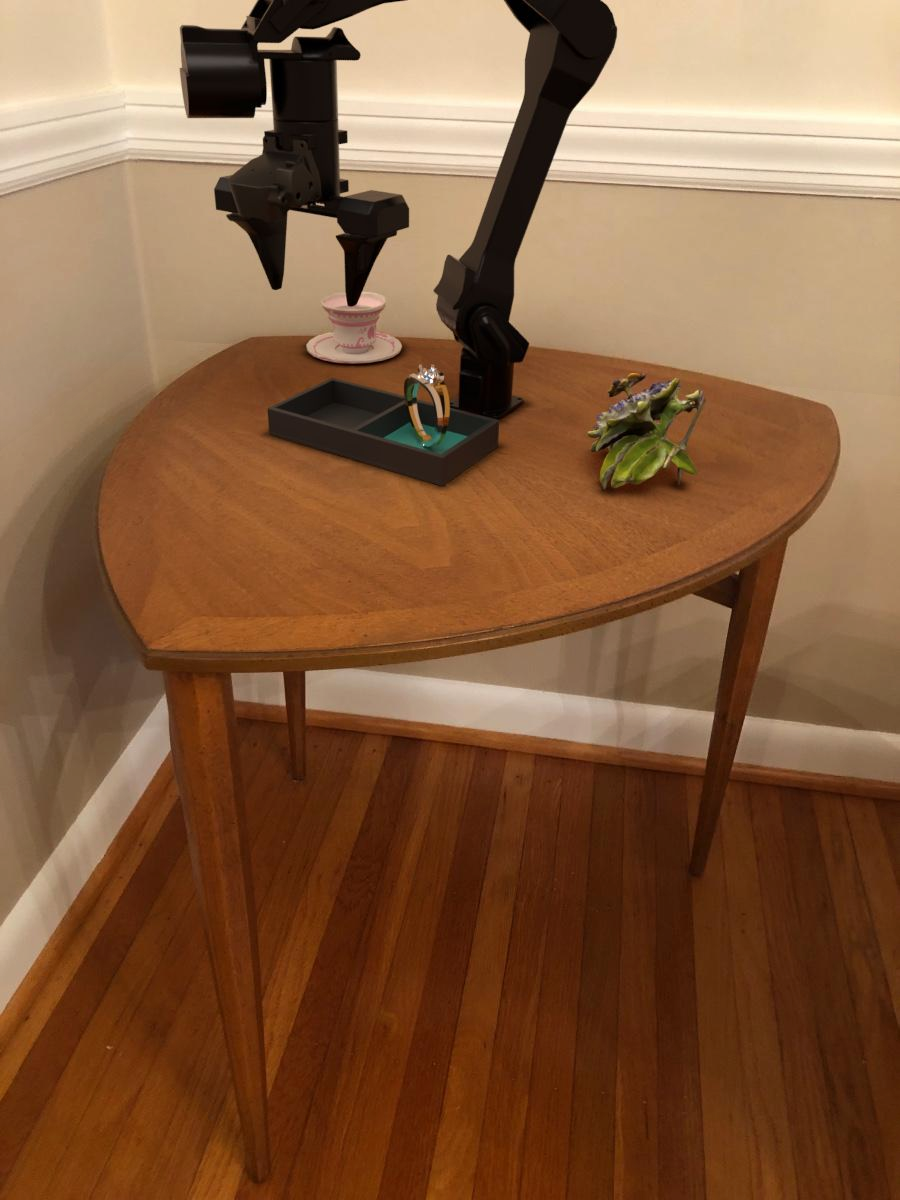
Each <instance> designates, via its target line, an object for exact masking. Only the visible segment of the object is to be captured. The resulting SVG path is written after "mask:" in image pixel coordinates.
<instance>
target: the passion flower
mask: <svg viewBox="0 0 900 1200" xmlns="http://www.w3.org/2000/svg"><path fill="white" fill-rule="evenodd" d="M646 377H647V373H646V372H642V373H637V372H632V373H629V374H628V375H627V377H626V378H624V377H621V378H615V379H614V380H613V381H612V386H611V387H610V388H609V389H608V390H607V393H608V397H609V398H614V397H616V396H618V395H620V394H621V393H622V392H625V393H626V395H627V398H623V399H620V400H619V401H618V402H617V403H615V404H608V406H609V408H608V410H607V411H601V412H600V414H598V415H597V416H596V417H595V419H596V424H595V425H593V426H590V427H589V428H590V429H592V428H593V429H592V430H589V431H588V432H587V436H588V437H589V438H592V439H596V440H595V441H594V442H593V443H592V444H591V447H590V448H589V450H590V452H591V453H598V452H600V451H604V450H605V449H607V448H608V453H607V454H606V456H605V458H604V459H603V462H602V465H601V468H600V469H599V482H600V484H601V488H602V490H604V491H605V490H606V489H607V485H608V482H609V481H610V487H611V488H613V489H617V488H619V487H621V486H625V485H627V484H628V483H630V484H633V485H641V483H644V482H646V481H648V480H649V479H651V478H652V477H654V476H655V475H656V474H657V472H658V471H659V470H661V468H662V469H663V470H664V471H667V470H669V468H670V464H671V462H672V463H673V464H674V465H675V466H676V467H677V472H676V476H677V478H676V479H677V480H676V481H677V482H676V484H677V486H680V482H681V478H682V473H683V472H685V473H688V474H690V475H693V476H696V475H697V468H696V466H695V463H694V462H693V461H692V459H691V457H690V456H689V454H688V453H687V448H688V442H689V438H690V437H691V434H692V432H693V430H694V427H695V424H696V423H697V420H698V418H699V416H700V414H701V413H702V411H703V410H704V406H705V404H706V401H707V399H706V397H705V395H704V392H703V389H696V390H695V391H694V392H693V393H690V394H686V395H685V398H686V399H687V400H686V399H679V397H678V395H679V391H681V389H682V385H680V381H681V380H680V378H678V377H674V379H673V380H672V379H668V380H667V381H666V382H665V383H664V381H658V382H655V383H652V385H651V386H650V388H648V389H647V388H644V389H643V390H642V391H641V392H639V393H637V392H634V394H633V393H632V391H631V388H632V387H634V386H636V385H637V384H639V383H641V382H642V381H643V380H645V378H646ZM694 409H696V413H695V415H694V417H693V418H692V420H691V423H690V425H689V427H688V428H687V432H686V433H685V436H684V437H683V439H682V440H681V441H679V442H678V443H675V442H674V441H671V440H669V439H668V436H667V435H668V432H669V431H668V430H669V428H670V427H671V425H672V424H673V423H674V421H675V419H676V417H677V416H678V415H680V414H681V413H683V412H686V413H689V414H690V413H691V412H692V411H693V410H694ZM655 421H659V422H655ZM597 438H598V439H597ZM611 477H612V478H611ZM610 479H611V480H610Z"/></svg>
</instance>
